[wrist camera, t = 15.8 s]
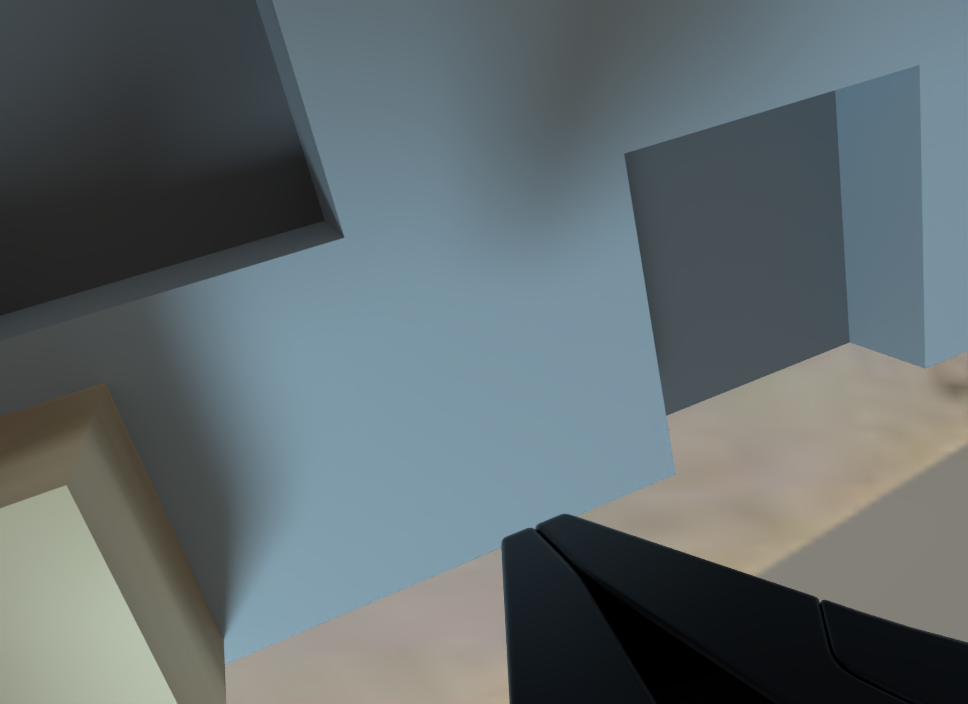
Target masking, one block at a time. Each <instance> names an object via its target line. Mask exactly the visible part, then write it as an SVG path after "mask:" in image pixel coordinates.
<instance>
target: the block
mask: <svg viewBox="0 0 968 704" xmlns="http://www.w3.org/2000/svg"><path fill="white" fill-rule="evenodd" d="M0 704H226V686H225V657H224V639H223V637H222V635H221V633H220V631H219V629H218V626H217V624H216V622H215V620H214V618H213V615H212V613H211V611H210V609H209V607H208V605H207V602H206V600H205V598H204V596H203V594H202V592H201V589H200V587H199V585H198V583H197V581H196V578H195V576H194V574H193V572H192V570H191V568H190V565H189V563H188V561H187V559H186V557H185V555H184V552H183V550H182V548H181V546H180V544H179V541H178V539H177V537H176V535H175V533H174V531H173V528H172V526H171V524H170V522H169V520H168V518H167V515H166V513H165V511H164V509H163V507H162V505H161V502H160V500H159V498H158V496H157V494H156V491H155V489H154V487H153V485H152V483H151V481H150V478H149V476H148V474H147V472H146V470H145V468H144V465H143V463H142V461H141V459H140V457H139V454H138V452H137V450H136V448H135V446H134V444H133V441H132V439H131V437H130V435H129V433H128V431H127V428H126V426H125V424H124V422H123V420H122V417H121V415H120V413H119V411H118V409H117V407H116V404H115V402H114V400H113V398H112V396H111V394H110V391H109V389H108V387H107V385H106V383H102V384H99V385H96V386H93V387H90V388H87V389H83V390H80V391H77V392H74V393H71V394H68V395H65V396H62V397H59V398H56V399H53V400H50V401H46V402H43V403H40V404H37V405H34V406H31V407H28V408H25V409H22V410H19V411H16V412H12V413H9V414H6V415H3V416H0Z"/></svg>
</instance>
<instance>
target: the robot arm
mask: <svg viewBox="0 0 968 704" xmlns="http://www.w3.org/2000/svg"><path fill="white" fill-rule="evenodd" d="M501 549H502V568H503V587H504V605H505V624H506V643H507V662H508V681H509V699H510V704H968V642H964V641H960V640H956V639H953V638H949V637H945V636H941V635H938V634H934V633H930V632H926V631H923V630H919V629H915V628H912V627H909V626H906V625H902V624H899V623H895V622H893V621H889V620H886V619H883V618H880V617H876V616H873V615H870V614H867V613H864V612H861V611H857V610H854V609H851V608H848V607H845V606H842V605H840V604H837V603H833V602H831V601H828V600H822V601H821V603H820V602H819V599H818V598H817V597H815V596H812V595H809V594H806V593H803V592H800V591H797V590H794V589H791V588H788V587H785V586H782V585H779V584H776V583H773V582H770V581H767V580H764V579H761V578H758V577H755V576H752V575H749V574H746V573H743V572H740V571H737V570H734V569H731V568H728V567H725V566H722V565H719V564H716V563H713V562H710V561H707V560H704V559H701V558H698V557H695V556H692V555H689V554H687V553H684V552H681V551H678V550H675V549H672V548H669V547H666V546H663V545H660V544H657V543H654V542H651V541H648V540H645V539H642V538H639V537H636V536H633V535H630V534H627V533H624V532H621V531H618V530H615V529H612V528H609V527H606V526H603V525H600V524H597V523H594V522H591V521H588V520H585V519H582V518H579V517H576V516H573V515H570V514H560V515H558V516H556V517H553V518H551V519H548V520H546V521H543V522H541V523H539V524H537V525H536V527H535V529H534V528H526V529H524V530H521V531H519V532H516V533H514V534H511V535H509V536H506V537H504V538H503V539H502V542H501Z"/></svg>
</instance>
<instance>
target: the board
mask: <svg viewBox="0 0 968 704" xmlns="http://www.w3.org/2000/svg"><path fill="white" fill-rule="evenodd" d="M849 342H851V343H854V344H856V345H859V346H862V347H865V348H868V349H871V350H874V351H877V352H879V353H882V354H885V355H888V356H891V357H894V358H897V359H900V360H902V361H905V362H908V363H911V364H914V365H917V366H920V367H923V368H927V367H930V366H932V365H934V364H937V363H939V362H942V361H944V360H946V359H949V358H951V357H953V356H956V355H958V354H960V353H963V352H965V351H968V0H0V416H3V415H6V414H9V413H12V412H16V411H19V410H22V409H25V408H28V407H31V406H34V405H37V404H40V403H43V402H46V401H50V400H53V399H56V398H59V397H62V396H65V395H68V394H71V393H74V392H77V391H80V390H83V389H87V388H90V387H93V386H96V385H99V384H102V383H106V385H107V387H108V389H109V391H110V394H111V396H112V398H113V400H114V402H115V404H116V407H117V409H118V411H119V413H120V415H121V417H122V420H123V422H124V424H125V426H126V428H127V431H128V433H129V435H130V437H131V439H132V441H133V444H134V446H135V448H136V450H137V452H138V454H139V457H140V459H141V461H142V463H143V465H144V468H145V470H146V472H147V474H148V476H149V478H150V481H151V483H152V485H153V487H154V489H155V491H156V494H157V496H158V498H159V500H160V502H161V505H162V507H163V509H164V511H165V513H166V515H167V518H168V520H169V522H170V524H171V526H172V528H173V531H174V533H175V535H176V537H177V539H178V541H179V544H180V546H181V548H182V550H183V552H184V555H185V557H186V559H187V561H188V563H189V565H190V568H191V570H192V572H193V574H194V576H195V578H196V581H197V583H198V585H199V587H200V589H201V592H202V594H203V596H204V598H205V600H206V602H207V605H208V607H209V609H210V611H211V613H212V615H213V618H214V620H215V622H216V624H217V626H218V629H219V631H220V633H221V635H222V637H223V639H224V657H225V664H227V663H229V662H232V661H234V660H237V659H239V658H241V657H244V656H246V655H248V654H251V653H253V652H256V651H258V650H260V649H263V648H265V647H267V646H270V645H272V644H274V643H277V642H279V641H282V640H284V639H286V638H289V637H291V636H293V635H296V634H298V633H300V632H303V631H305V630H308V629H310V628H312V627H315V626H317V625H319V624H322V623H324V622H326V621H329V620H331V619H334V618H336V617H338V616H341V615H343V614H345V613H348V612H350V611H353V610H355V609H357V608H360V607H362V606H364V605H367V604H369V603H371V602H374V601H376V600H379V599H381V598H383V597H386V596H388V595H390V594H393V593H395V592H397V591H400V590H402V589H405V588H407V587H409V586H412V585H414V584H416V583H419V582H421V581H423V580H426V579H428V578H431V577H433V576H435V575H438V574H440V573H442V572H445V571H447V570H449V569H452V568H454V567H457V566H459V565H461V564H464V563H466V562H468V561H471V560H473V559H476V558H478V557H480V556H483V555H485V554H487V553H490V552H492V551H494V550H497V549H499V548H501V542H502V539H503V538H504V537H506V536H509V535H511V534H514V533H516V532H519V531H521V530H524V529H526V528H534V529H535V527H536V525H537V524H539V523H541V522H543V521H546V520H548V519H551V518H553V517H556V516H558V515H560V514H570V515H573V516H577V515H580V514H582V513H584V512H587V511H589V510H591V509H594V508H596V507H599V506H601V505H603V504H606V503H608V502H610V501H613V500H615V499H617V498H620V497H622V496H625V495H627V494H629V493H632V492H634V491H636V490H639V489H641V488H643V487H646V486H648V485H651V484H653V483H655V482H658V481H660V480H662V479H665V478H667V477H670V476H672V475H674V474H675V468H674V462H673V456H672V450H671V443H670V437H669V431H668V425H667V418H666V415H669V414H671V413H674V412H676V411H679V410H681V409H684V408H686V407H689V406H691V405H694V404H696V403H699V402H701V401H704V400H706V399H709V398H711V397H714V396H716V395H719V394H721V393H724V392H726V391H729V390H731V389H734V388H736V387H739V386H741V385H744V384H746V383H749V382H751V381H754V380H756V379H759V378H761V377H764V376H766V375H769V374H771V373H774V372H776V371H779V370H781V369H784V368H786V367H789V366H791V365H794V364H796V363H799V362H801V361H804V360H806V359H809V358H811V357H814V356H816V355H819V354H821V353H824V352H826V351H829V350H831V349H834V348H836V347H839V346H841V345H844V344H846V343H849Z"/></svg>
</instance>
